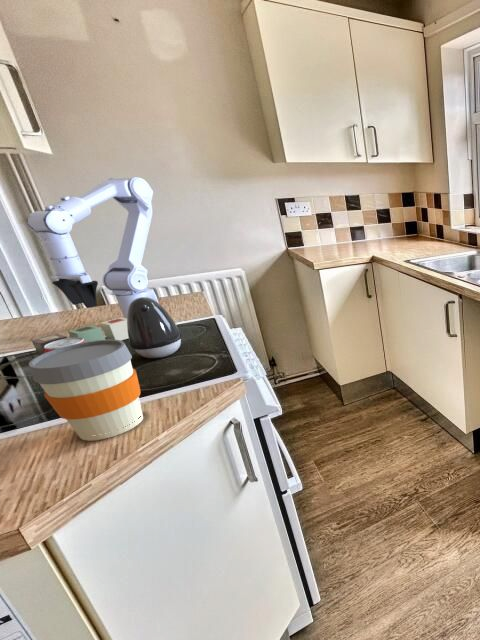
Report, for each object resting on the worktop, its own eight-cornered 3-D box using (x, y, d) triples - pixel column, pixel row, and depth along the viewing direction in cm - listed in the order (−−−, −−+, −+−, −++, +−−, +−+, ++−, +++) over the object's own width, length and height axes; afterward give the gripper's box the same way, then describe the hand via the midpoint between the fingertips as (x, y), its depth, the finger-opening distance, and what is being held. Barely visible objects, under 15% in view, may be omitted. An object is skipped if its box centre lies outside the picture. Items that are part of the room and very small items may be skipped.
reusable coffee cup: (171, 411, 82) (144, 341, 77) (101, 451, 71) (63, 372, 65) (122, 405, 85) (92, 336, 79) (46, 442, 74) (5, 365, 68)
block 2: (98, 341, 117) (91, 324, 115) (107, 344, 115) (100, 327, 113) (75, 348, 113) (67, 330, 111) (84, 351, 111) (76, 333, 109)
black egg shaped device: (137, 366, 102) (113, 307, 96) (135, 353, 109) (113, 297, 103) (188, 354, 108) (168, 297, 102) (183, 343, 115) (165, 289, 109)
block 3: (128, 333, 123) (121, 316, 121) (137, 335, 121) (130, 319, 119) (106, 339, 119) (99, 322, 117) (116, 342, 117) (109, 324, 115)
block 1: (65, 350, 111) (57, 333, 110) (74, 354, 109) (66, 336, 108) (40, 358, 107) (31, 340, 105) (49, 361, 105) (39, 343, 103)
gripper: (31, 258, 113) (53, 306, 118) (57, 262, 107) (79, 312, 113) (65, 253, 119) (85, 299, 124) (92, 257, 113) (111, 305, 119)
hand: (84, 305), depth 119 cm, fingers open, 7 cm apart
